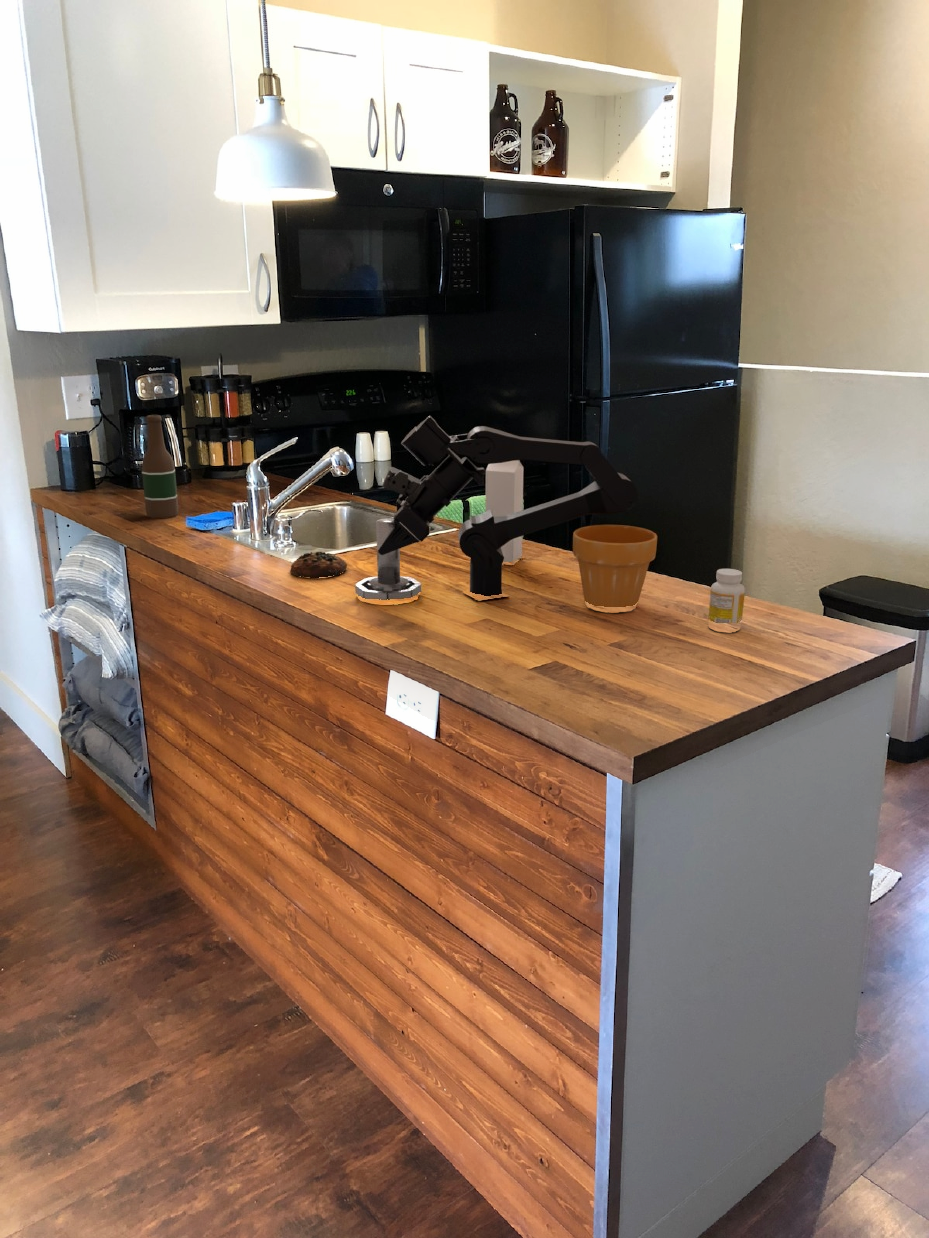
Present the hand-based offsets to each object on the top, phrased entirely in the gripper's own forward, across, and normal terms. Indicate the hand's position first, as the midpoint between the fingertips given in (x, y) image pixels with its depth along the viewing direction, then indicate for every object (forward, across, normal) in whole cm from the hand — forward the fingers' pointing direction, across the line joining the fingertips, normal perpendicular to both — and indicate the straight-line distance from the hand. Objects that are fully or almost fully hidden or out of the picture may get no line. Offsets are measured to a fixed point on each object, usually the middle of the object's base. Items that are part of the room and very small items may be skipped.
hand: (381, 546), depth 178 cm
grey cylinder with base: (+5, 0, +7) cm, 8 cm away
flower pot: (-22, +7, +35) cm, 42 cm away
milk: (-10, -24, +23) cm, 35 cm away
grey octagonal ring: (+6, 0, +7) cm, 9 cm away
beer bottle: (+47, -69, -34) cm, 90 cm away
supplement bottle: (-33, +19, +47) cm, 61 cm away
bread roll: (+16, -17, -3) cm, 24 cm away
